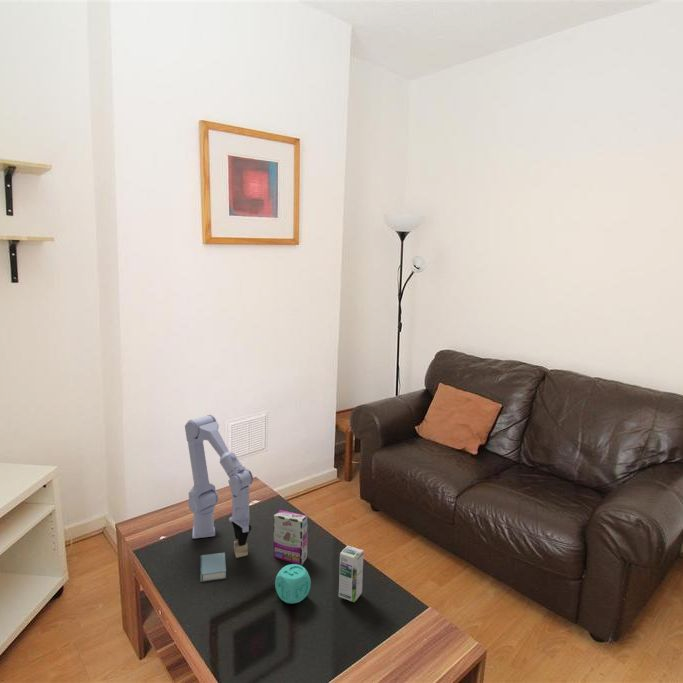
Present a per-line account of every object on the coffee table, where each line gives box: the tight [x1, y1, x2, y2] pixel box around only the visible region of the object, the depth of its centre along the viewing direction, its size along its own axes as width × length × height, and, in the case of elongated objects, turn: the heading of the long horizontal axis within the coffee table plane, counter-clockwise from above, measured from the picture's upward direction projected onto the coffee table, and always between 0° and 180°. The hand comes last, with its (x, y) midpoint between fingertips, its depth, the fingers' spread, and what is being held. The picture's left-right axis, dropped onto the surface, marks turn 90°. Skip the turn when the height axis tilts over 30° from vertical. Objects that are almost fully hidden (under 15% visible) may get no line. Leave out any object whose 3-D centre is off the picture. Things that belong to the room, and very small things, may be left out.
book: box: [199, 552, 227, 583], centre depth 161 cm, size 11×8×3 cm
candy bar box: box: [272, 509, 309, 566], centre depth 168 cm, size 11×5×16 cm, turn 68°
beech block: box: [233, 539, 249, 559], centre depth 170 cm, size 4×4×5 cm
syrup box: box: [338, 545, 364, 603], centre depth 150 cm, size 6×6×14 cm
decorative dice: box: [274, 563, 312, 604], centre depth 149 cm, size 8×8×8 cm
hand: (240, 541), depth 169 cm, fingers open, 4 cm apart
